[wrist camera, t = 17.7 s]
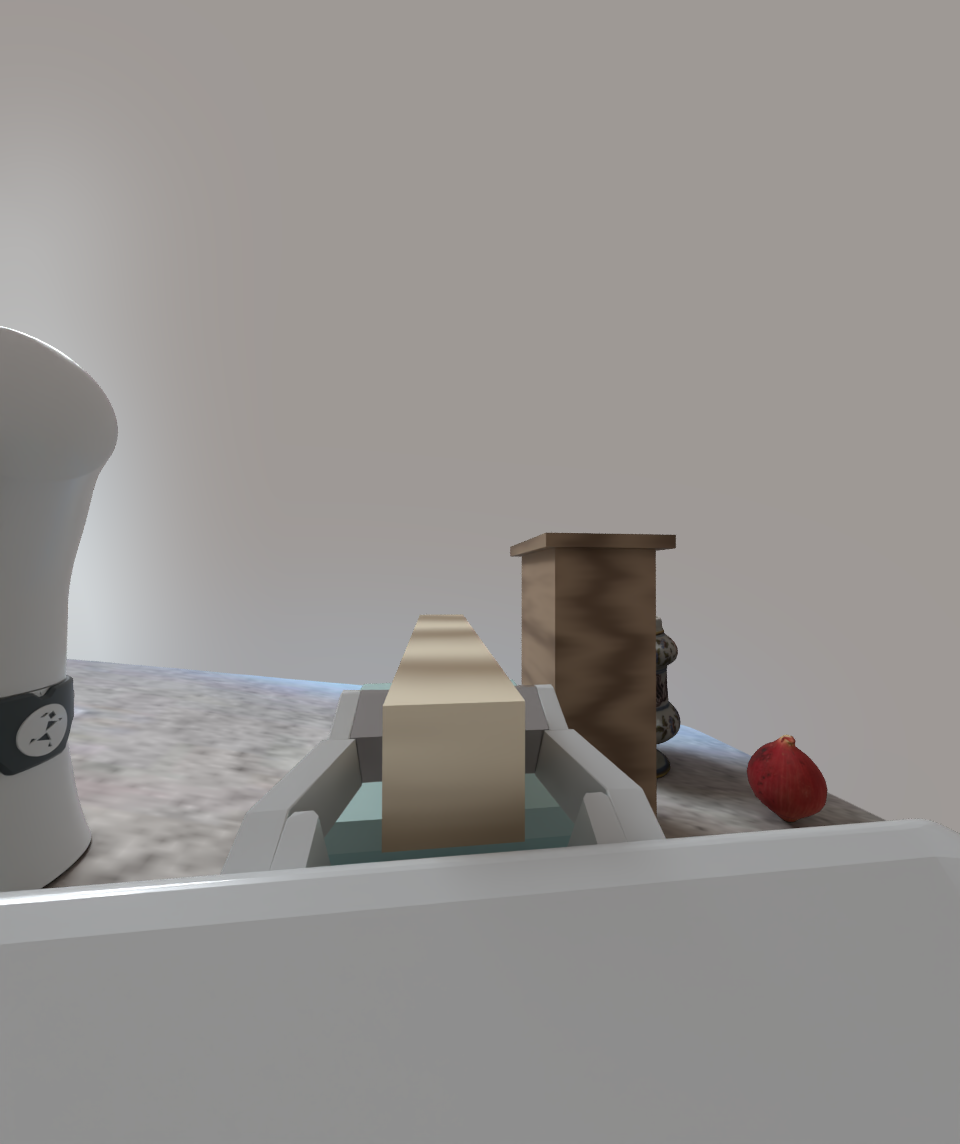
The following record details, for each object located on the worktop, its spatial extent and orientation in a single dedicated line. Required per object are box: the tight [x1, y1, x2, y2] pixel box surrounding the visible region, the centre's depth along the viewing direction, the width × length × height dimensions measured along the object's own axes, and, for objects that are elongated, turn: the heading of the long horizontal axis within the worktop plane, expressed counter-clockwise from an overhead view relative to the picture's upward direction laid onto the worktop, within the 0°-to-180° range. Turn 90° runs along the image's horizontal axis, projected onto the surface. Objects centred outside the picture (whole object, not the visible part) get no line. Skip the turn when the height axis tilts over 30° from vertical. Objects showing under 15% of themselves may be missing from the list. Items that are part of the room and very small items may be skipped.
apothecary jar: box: [656, 616, 680, 778], centre depth 48 cm, size 12×12×18 cm
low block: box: [324, 680, 575, 866], centre depth 20 cm, size 11×16×15 cm
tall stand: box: [510, 533, 676, 819], centre depth 34 cm, size 10×13×26 cm
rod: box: [382, 615, 525, 853], centre depth 17 cm, size 19×3×3 cm, turn 7°
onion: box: [747, 735, 827, 822], centre depth 36 cm, size 6×6×8 cm
